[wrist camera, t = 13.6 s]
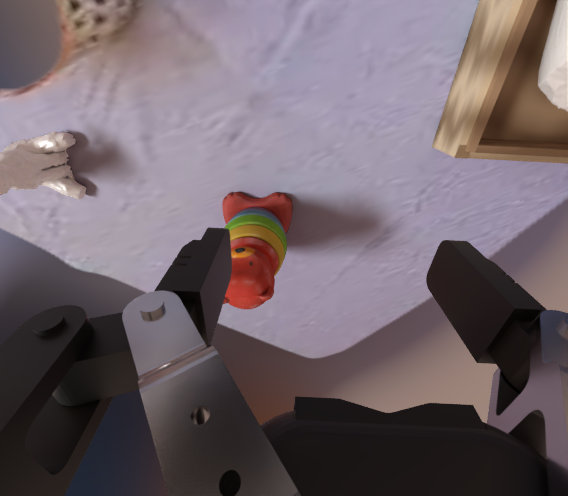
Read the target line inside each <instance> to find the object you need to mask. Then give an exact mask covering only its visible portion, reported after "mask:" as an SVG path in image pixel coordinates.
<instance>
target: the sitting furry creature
mask: <svg viewBox="0 0 568 496" xmlns="http://www.w3.org/2000/svg"><path fill="white" fill-rule="evenodd" d="M73 137H74V136H73V135H71V134H69V133H66V132H61V133H58V132H51V133H48V134H47V135H44V136H39V137H37V138H32V139H28V140H21V141H19V142H18V141H16V142H15V143H11V145H9V146H8V147H5V149H4V151H3V152H0V195H2V194H3V193H7V192H8V190H10V188H13V189H15V190H18V189H36V188H37V187H38V185H44V186H47V187H51V188H52V189H54V190H56V191H58V192H60V193H61V194H63V195H67V196H72V197H74V198H77V199H82V198H83V197H84V196H85V194H86V192H85V191H86V190H87V189H86V187H84V186H83V185H81V184H79V183H77V182H76V181H75V179H74V177H73V174H72V170H70V168H71V167H70V166H69V165H67V163H66V162H67V161H68V160H69V159H67V157H69V156H68V154H67V152H66V149H67V148H68V147H71V146H72V145H74V144H75V142H76V140H75V139H74V138H73ZM62 164H64V165H62ZM54 166H56V167H54ZM66 176H68V178H67V177H66Z"/></svg>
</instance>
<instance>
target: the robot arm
mask: <svg viewBox="0 0 568 496" xmlns="http://www.w3.org/2000/svg"><path fill="white" fill-rule="evenodd" d="M231 273H232V256H231V242H230V232H229V229H226V228H208V229H207V230H206V232H205V234H204V235H203V237H202V239H201V240H192V241H191V242H189V243H188V244H187V245H185V246H184V247H183V248H182V249H181V251H180V252H179V254H178V255H177V258H175V260H174V261H173V263H172V265H171V266H170V268H169V269H168V271H167V272H166V274H165V275H164V277H163V278H162V280H161V282H160V283H159V285H158V286H157V288H156V289H155V291H154V292H149V293H146V294H143V295H141V296H139V297H137V298H136V299H134V300H133V301H131V302H130V303H129V304H128V305H127V306H126V308H125V309H124V311H123V312H122V313H117V314H112V315H107V316H101V317H96V318H90V319H89V318H88V316H87V314H86V312H85V311H84V309H82V308H81V307H78V306H72V305H65V306H59V307H55V308H51V309H48V310H45V311H43V312H41V313H39V314H37V315H35V316H33V317H31V318H30V319H29V320H27V321H26V322H24V323H23V324H22V325H21V326H20V327H19V328H18V329H17V330H16V331H15V332H14V333H13V334H12V335H11V336H10V337H9V338H7V340H5V341H4V342H3V344H1V345H0V496H64V495H65V493H66V491H67V489H68V487H69V485H70V483H71V481H72V479H73V477H74V475H75V473H76V471H77V469H78V467H79V465H80V463H81V461H82V459H83V457H84V455H85V453H86V451H87V449H88V447H89V445H90V443H91V441H92V439H93V437H94V435H95V433H96V430H97V429H98V427H99V425H100V423H101V421H102V419H103V417H104V415H105V412H106V411H107V409H108V406H109V405H110V403H111V401H112V399H113V397H114V396H116V395H120V394H123V393H127V392H131V391H134V390H139V389H140V393H141V396H142V401H143V404H144V408H145V411H146V415H147V419H148V422H149V426H150V429H151V433H152V437H153V441H154V444H155V448H156V451H157V455H158V459H159V462H160V466H161V469H162V473H163V476H164V481H165V484H166V488H167V491H168V495H169V496H568V313H565V312H561V311H556V310H546V309H545V308H544V307H543V306H542V305H541V304H540V303H539V302H537V301H536V300H535V299H534V298H533V297H532V296H531V295H530V294H529V293H528V292H526V291H525V290H524V289H523V288H522V287H521V286H520V285H519V284H518V283H515V281H514V280H513V279H512V278H511V277H510V276H509V275H506V273H505V272H504V271H503V270H502V269H501V268H500V267H498V265H496V264H495V263H494V262H492V261H490V260H488V259H487V258H485V257H484V256H483V255H482V254H481V253H480V252H479V251H478V250H477V249H475V248H474V247H473V246H472V245H471V244H470V243H469V242H467V241H453V240H444V241H442V242H441V243H440V245H439V247H438V249H437V252H436V254H435V256H434V259H433V261H432V264H431V266H430V268H429V271H428V273H427V286H428V289H429V290H430V292H431V293H432V295H433V297H434V298H435V300H436V301H437V303H438V304H439V306H440V307H441V309H442V310H443V312H444V313H445V315H446V316H447V318H448V319H449V321H450V322H451V324H452V325H453V327H454V328H455V330H456V331H457V333H458V334H459V336H460V338H461V339H462V341H463V342H464V344H465V345H466V347H467V348H468V350H469V351H470V353H471V354H472V356H473V357H474V359H475V360H476V362H477V363H492V364H497V366H498V367H499V368H498V369H497V370H496V371H495V373H494V375H493V380H492V388H491V396H490V404H489V412H488V420H487V424H486V423H484V422H482V421H481V419H480V417H479V416H478V414H477V412H476V410H475V408H474V406H473V405H460V404H439V403H428V404H424V405H420V406H416V407H412V408H409V409H404V410H400V411H397V412H393V413H384V412H381V411H377V410H374V409H371V408H368V407H364V406H361V405H358V404H355V403H351V402H348V401H345V400H342V399H334V398H313V397H295V404H294V411H290V412H286V413H283V414H281V415H278V416H276V417H274V418H272V419H270V420H269V421H267V422H265V423H264V424H262V425H261V426H260V425H259V423H258V421H257V420H256V418H255V416H254V414H253V413H252V411H251V409H250V408H249V406H248V404H247V403H246V401H245V399H244V397H243V396H242V394H241V392H240V391H239V389H238V387H237V385H236V384H235V382H234V380H233V378H232V377H231V375H230V374H229V372H228V370H227V368H226V366H225V365H224V363H223V361H222V360H221V358H220V356H219V355H218V353H217V351H216V350H215V348H214V347H213V346H212V345H210V344H211V341H212V338H213V334H214V331H215V328H216V325H217V321H218V318H219V315H220V312H221V308H222V305H223V302H224V298H225V295H226V292H227V289H228V285H229V282H230V279H231Z"/></svg>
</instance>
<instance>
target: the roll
mask: <svg viewBox="0 0 568 496" xmlns="http://www.w3.org/2000/svg"><path fill="white" fill-rule="evenodd" d="M538 87H539V88H540V90H541V91H542V92H543V93H544V94H545V95H546V96H547V99H549V100H550V102H551V103H552V104H553V105H556V106H557V107H558V109H560V108H562V109H564V110H566V111H567V112H568V0H557V2H556V6H555V10H554V14H553V18H552V21H551V25H550V29H549V33H548V37H547V41H546V44H545V48H544V51H543V56H542V60H541V64H540V68H539V73H538Z"/></svg>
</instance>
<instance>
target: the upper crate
mask: <svg viewBox="0 0 568 496" xmlns="http://www.w3.org/2000/svg"><path fill="white" fill-rule="evenodd" d="M556 2H557V0H523V1H522V4H521V6H520V9H519V11H518V14H517V16H516V19H515V21H514V24H513V27H512V29H511V32H510V34H509V37H508V39H507V42H506V44H505V47H504V50H503V52H502V55H501V57H500V60H499V62H498V65H497V68H496V70H495V73H494V75H493V78H492V80H491V83H490V85H489V88H488V91H487V93H486V96H485V98H484V101H483V103H482V106H481V108H480V111H479V114H478V116H477V119H476V121H475V124H474V126H473V129H472V132H471V134H470V137H469V139H468V142H467V144H466V145H467V147H466V150H465V151H466V152H472V153H491V154H510V155H529V156H548V157H567V158H568V112H567V111H566V110H564V109H562V108H560V109H558V107H557V106H556V105H553V104H552V103H551V102H550V100H549V99H547V96H546V95H545V94H544V93H543V92H542V91H541V90H540V88H539V87H538V73H539V68H540V64H541V60H542V56H543V51H544V48H545V44H546V41H547V37H548V33H549V29H550V25H551V21H552V18H553V14H554V10H555V6H556Z"/></svg>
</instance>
